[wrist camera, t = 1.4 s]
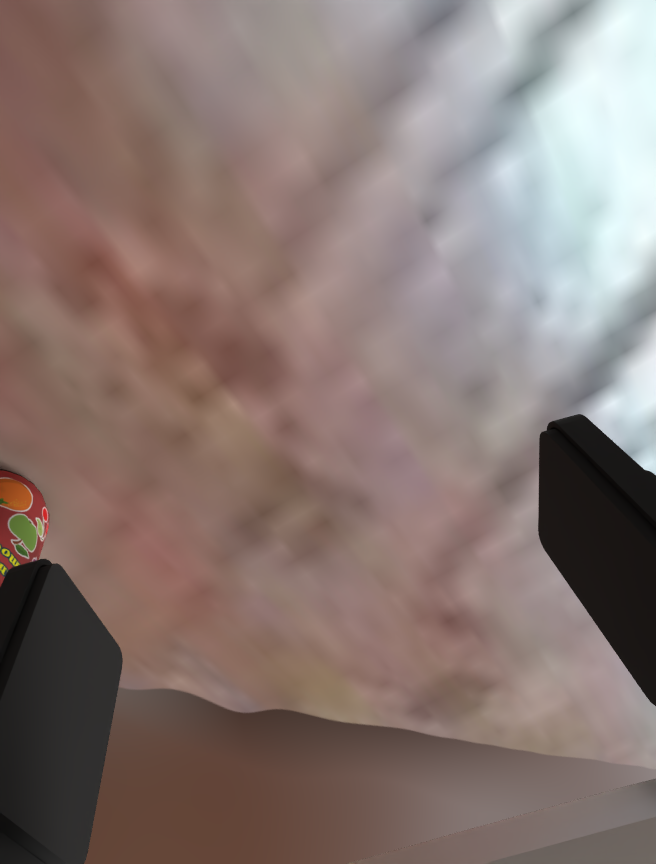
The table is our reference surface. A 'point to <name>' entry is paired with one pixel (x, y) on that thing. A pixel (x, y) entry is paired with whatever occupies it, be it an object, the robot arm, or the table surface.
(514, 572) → the table surface
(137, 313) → the table surface
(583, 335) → the table surface
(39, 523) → the smoothie
